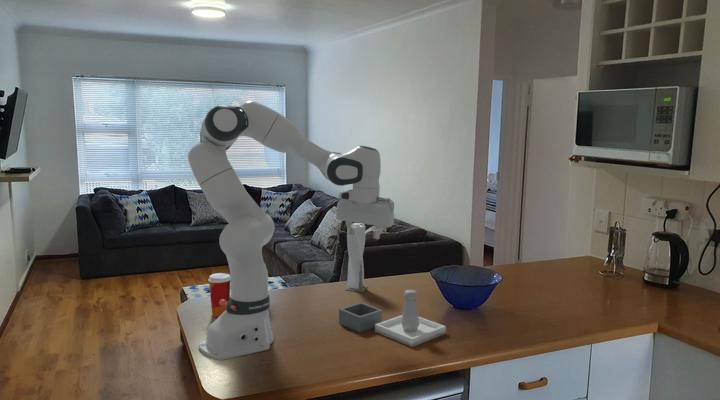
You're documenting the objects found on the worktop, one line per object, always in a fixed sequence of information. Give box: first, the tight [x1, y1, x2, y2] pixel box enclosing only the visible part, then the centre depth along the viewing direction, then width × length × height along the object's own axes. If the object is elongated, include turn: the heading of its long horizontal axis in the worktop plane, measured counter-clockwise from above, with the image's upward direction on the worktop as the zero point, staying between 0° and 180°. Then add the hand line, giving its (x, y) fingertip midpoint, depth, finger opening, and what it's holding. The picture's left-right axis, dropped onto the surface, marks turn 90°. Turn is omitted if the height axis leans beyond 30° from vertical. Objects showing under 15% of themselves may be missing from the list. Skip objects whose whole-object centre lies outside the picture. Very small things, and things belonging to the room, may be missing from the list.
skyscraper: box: [345, 222, 369, 293], centre depth 221 cm, size 8×8×28 cm
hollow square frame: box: [338, 302, 383, 333], centre depth 184 cm, size 10×10×5 cm
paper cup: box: [207, 272, 231, 319], centre depth 190 cm, size 8×8×14 cm
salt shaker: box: [401, 289, 419, 332], centre depth 176 cm, size 6×6×13 cm
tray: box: [374, 314, 447, 348], centre depth 177 cm, size 16×16×2 cm
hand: (363, 236), depth 183 cm, fingers open, 8 cm apart
